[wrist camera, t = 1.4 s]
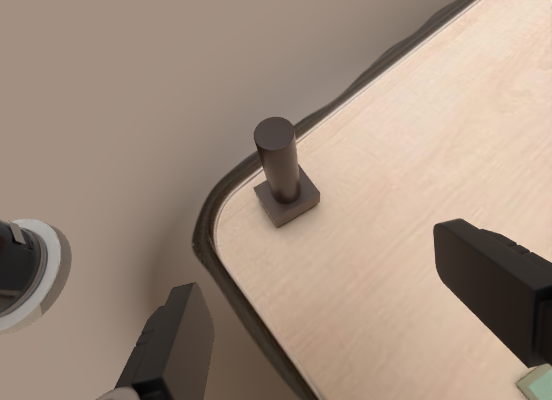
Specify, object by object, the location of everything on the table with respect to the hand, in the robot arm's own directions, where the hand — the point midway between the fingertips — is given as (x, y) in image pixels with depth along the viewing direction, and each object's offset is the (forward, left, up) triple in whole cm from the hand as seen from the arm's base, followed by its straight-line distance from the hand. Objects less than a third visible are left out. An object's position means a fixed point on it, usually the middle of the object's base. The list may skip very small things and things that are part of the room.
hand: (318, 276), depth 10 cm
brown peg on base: (+3, +11, -18) cm, 21 cm away
